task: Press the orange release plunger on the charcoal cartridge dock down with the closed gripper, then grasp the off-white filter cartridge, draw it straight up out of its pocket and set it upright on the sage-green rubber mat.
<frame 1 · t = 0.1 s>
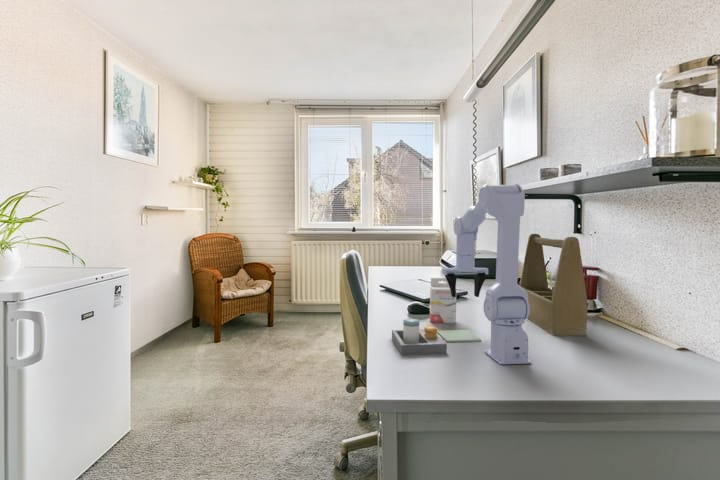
hand: (465, 296, 124), 10 cm above the table, fingers open, 7 cm apart
caddy: (548, 323, 130), on the table
ink cartridge box: (442, 321, 132), on the table
mat: (457, 336, 114), on the table
cartridge: (411, 345, 106), resting in dock
plunger: (430, 333, 106), point 3 cm above the table, slide at 0.0 cm
dock: (417, 345, 106), on the table
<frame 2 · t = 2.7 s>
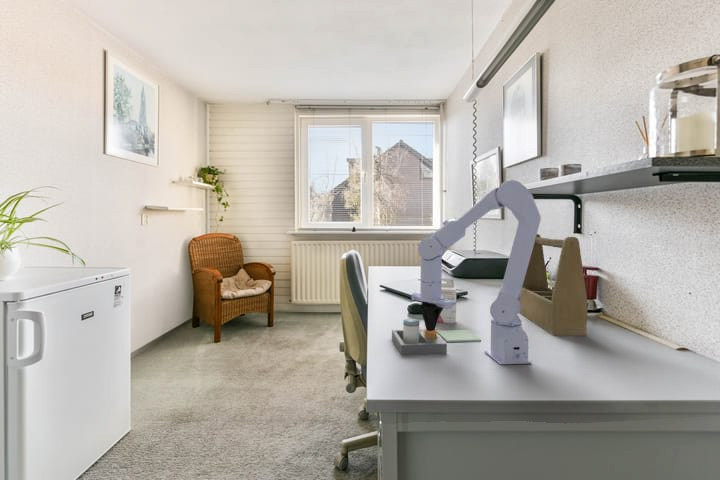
hand: (430, 330, 106), 4 cm above the table, fingers closed, pressing on plunger
plunger: (430, 335, 106), point 3 cm above the table, slide at 0.6 cm, touching gripper
everything else where it was.
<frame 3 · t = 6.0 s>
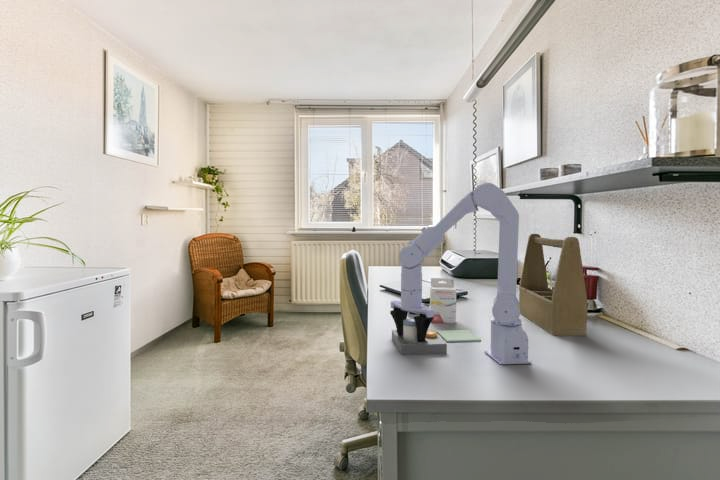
hand: (411, 338, 106), 2 cm above the table, fingers open, 7 cm apart
plunger: (430, 338, 106), point 2 cm above the table, slide at 1.5 cm, touching dock
everything else where it was.
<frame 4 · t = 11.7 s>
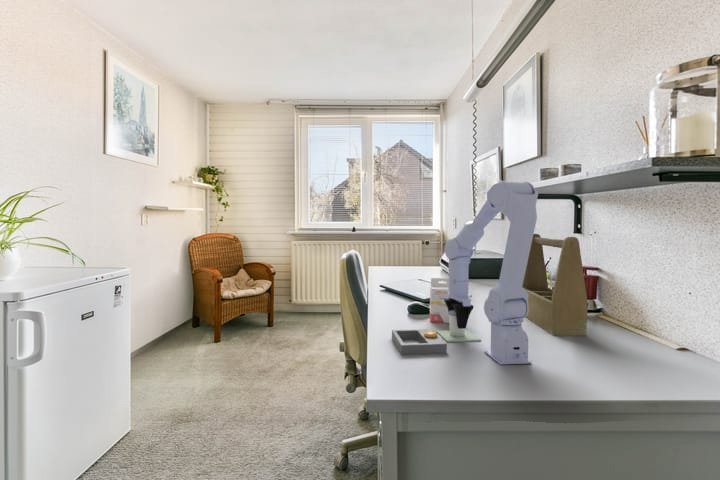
hand: (458, 325, 114), 3 cm above the table, fingers open, 6 cm apart
cartridge: (457, 334, 114), point 1 cm above the table, touching mat
everything else where it was.
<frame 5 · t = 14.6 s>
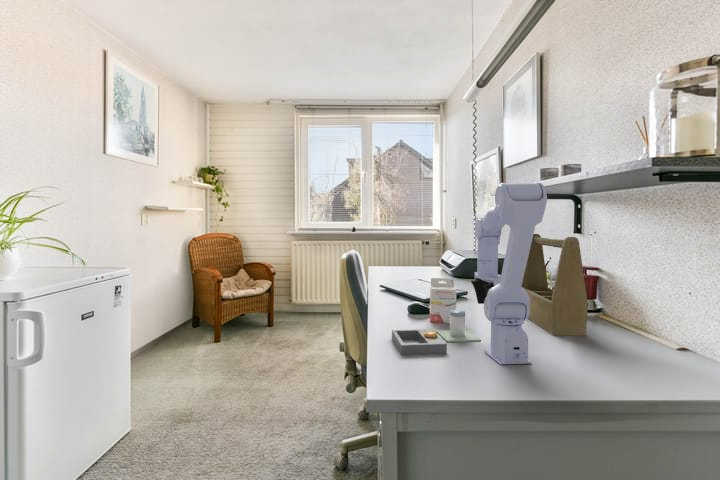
hand: (486, 306, 113), 9 cm above the table, fingers open, 7 cm apart
nothing on the table moved.
at the end: plunger slide at 1.5 cm; cartridge inside the target area on the mat (0.2 cm from its centre), point 0.5 cm above the mat's base; cartridge tilted 0° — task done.
